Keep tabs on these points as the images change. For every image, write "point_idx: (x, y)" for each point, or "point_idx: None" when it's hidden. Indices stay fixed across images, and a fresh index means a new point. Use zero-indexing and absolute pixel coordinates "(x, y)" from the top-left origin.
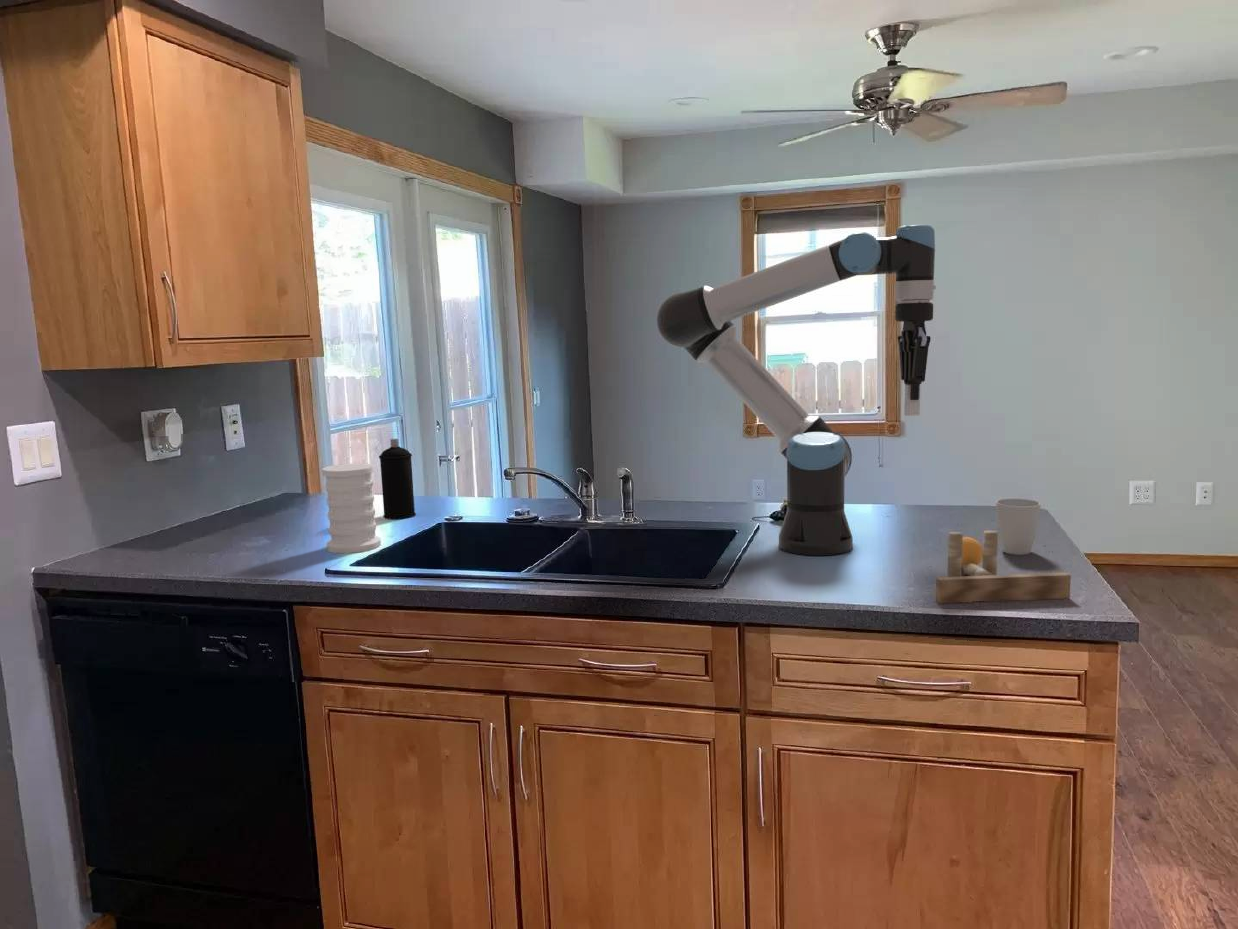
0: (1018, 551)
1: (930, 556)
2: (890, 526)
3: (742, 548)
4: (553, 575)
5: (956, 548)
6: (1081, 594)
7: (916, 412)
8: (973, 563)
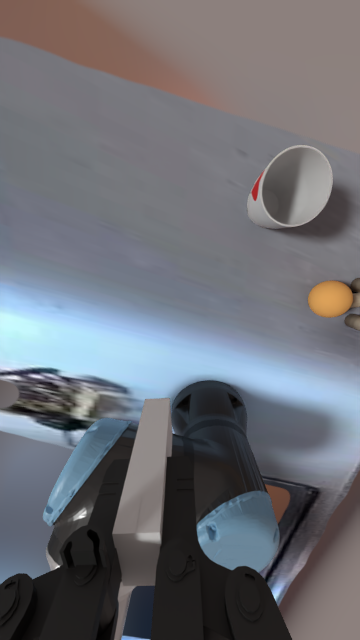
0: (280, 211)
1: (263, 315)
2: (118, 318)
3: None
4: None
5: None
6: None
7: (169, 414)
8: (353, 299)
